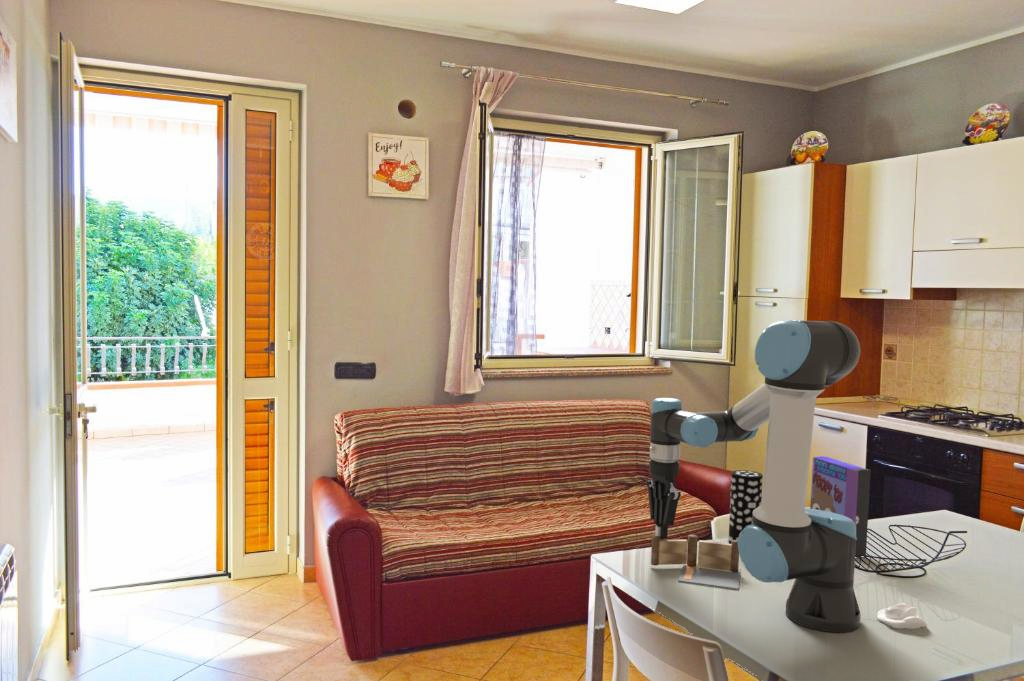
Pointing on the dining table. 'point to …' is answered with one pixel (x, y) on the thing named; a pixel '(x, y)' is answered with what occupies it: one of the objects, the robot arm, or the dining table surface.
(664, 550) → the folding panel
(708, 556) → the fence fixed
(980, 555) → the dining table surface
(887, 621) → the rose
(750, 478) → the white-spotted black cylinder
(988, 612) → the dining table surface
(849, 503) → the cereal box
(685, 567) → the card
